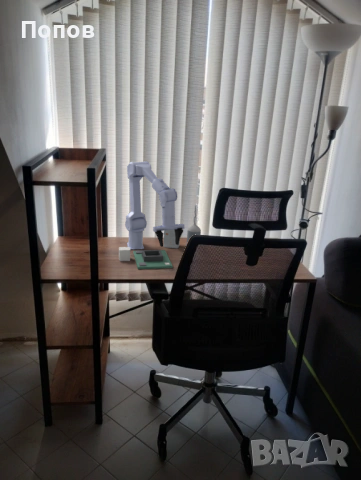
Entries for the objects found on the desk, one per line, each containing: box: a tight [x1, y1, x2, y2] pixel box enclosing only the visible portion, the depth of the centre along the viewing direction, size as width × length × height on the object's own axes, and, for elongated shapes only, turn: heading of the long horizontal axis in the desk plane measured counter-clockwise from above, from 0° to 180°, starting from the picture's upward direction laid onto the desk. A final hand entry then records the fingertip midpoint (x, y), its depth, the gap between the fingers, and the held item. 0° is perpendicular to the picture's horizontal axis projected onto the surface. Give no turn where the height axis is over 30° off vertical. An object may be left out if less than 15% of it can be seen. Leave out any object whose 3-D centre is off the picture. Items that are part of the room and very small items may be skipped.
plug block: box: [118, 246, 131, 262], centre depth 187 cm, size 4×5×6 cm
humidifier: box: [185, 204, 202, 247], centre depth 197 cm, size 8×8×25 cm
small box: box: [162, 229, 181, 249], centre depth 206 cm, size 8×6×10 cm
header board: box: [132, 249, 174, 270], centre depth 188 cm, size 20×16×4 cm
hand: (169, 245), depth 180 cm, fingers open, 7 cm apart
